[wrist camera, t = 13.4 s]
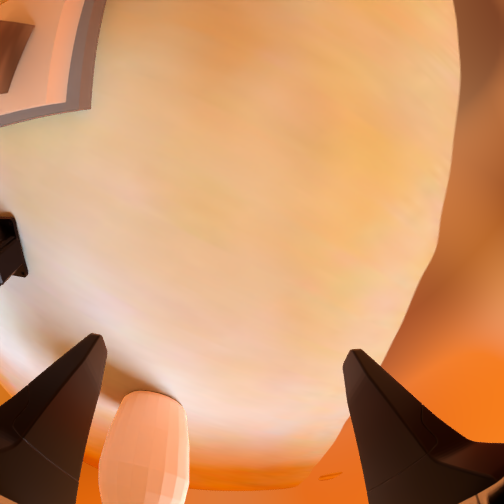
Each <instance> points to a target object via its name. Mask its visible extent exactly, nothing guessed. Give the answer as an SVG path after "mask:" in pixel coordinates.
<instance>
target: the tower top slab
mask: <svg viewBox="0 0 504 504" xmlns="http://www.w3.org/2000/svg"><path fill="white" fill-rule="evenodd" d="M84 1H85V0H8V1H6V2H5V3H3V4H1V5H0V20H3V21H11V22H18V23H25V24H31V25H35V27H34V29H33V31H32V33H31V35H30V37H29V39H28V42H27V44H26V46H25V48H24V51H23V53H22V55H21V58H20V60H19V63H18V65H17V68H16V70H15V73H14V76H13V79H12V82H11V85H10V88H9V91H8V93H5V94H0V115H4V114H8V113H12V112H16V111H20V110H25V109H30V108H35V107H40V106H45V105H51V104H58V103H64V102H66V94H67V85H68V77H69V70H70V63H71V57H72V51H73V46H74V41H75V36H76V32H77V27H78V23H79V19H80V15H81V12H82V8H83V5H84Z"/></svg>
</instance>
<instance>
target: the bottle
mask: <svg viewBox="0 0 504 504" xmlns="http://www.w3.org/2000/svg"><path fill="white" fill-rule="evenodd" d="M188 486H189V438H188V427H187V415H186V412H185V410H184V409H183V407H182V406H181V405H180V404H179V403H178V402H177V401H175V400H173V399H172V398H170V397H168V396H165V395H162V394H160V393H155V392H151V391H133V392H131V393H129V394H127V395H126V396H125V397H124V398H123V400H122V402H121V404H120V406H119V408H118V410H117V413H116V415H115V417H114V419H113V421H112V423H111V426H110V428H109V431H108V434H107V437H106V441H105V444H104V447H103V451H102V454H101V458H100V461H99V488H100V494H101V499H102V504H184V502H185V498H186V494H187V489H188Z"/></svg>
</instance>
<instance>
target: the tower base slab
mask: <svg viewBox="0 0 504 504" xmlns="http://www.w3.org/2000/svg"><path fill="white" fill-rule="evenodd" d="M105 3H106V0H85V1H84V5H83V8H82V12H81V15H80V19H79V23H78V27H77V32H76V36H75V41H74V46H73V51H72V57H71V63H70V70H69V77H68V85H67V94H66V102H64V103H58V104H51V105H45V106H40V107H35V108H30V109H25V110H20V111H16V112H12V113H8V114H4V115H0V127H4V126H7V125H11V124H15V123H19V122H23V121H27V120H31V119H35V118H40V117H45V116H50V115H55V114H61V113H67V112H73V111H80V110H87V109H91V98H92V84H93V74H94V65H95V57H96V50H97V43H98V37H99V32H100V26H101V21H102V17H103V12H104V8H105Z"/></svg>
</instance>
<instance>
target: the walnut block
mask: <svg viewBox="0 0 504 504" xmlns="http://www.w3.org/2000/svg"><path fill="white" fill-rule="evenodd" d="M34 27H35V25H31V24H25V23H18V22H11V21H3V20H0V94H5V93H8V91H9V88H10V85H11V82H12V79H13V76H14V73H15V70H16V68H17V65H18V63H19V60H20V58H21V55H22V53H23V51H24V48H25V46H26V44H27V42H28V39H29V37H30V35H31V33H32V31H33V29H34Z"/></svg>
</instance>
